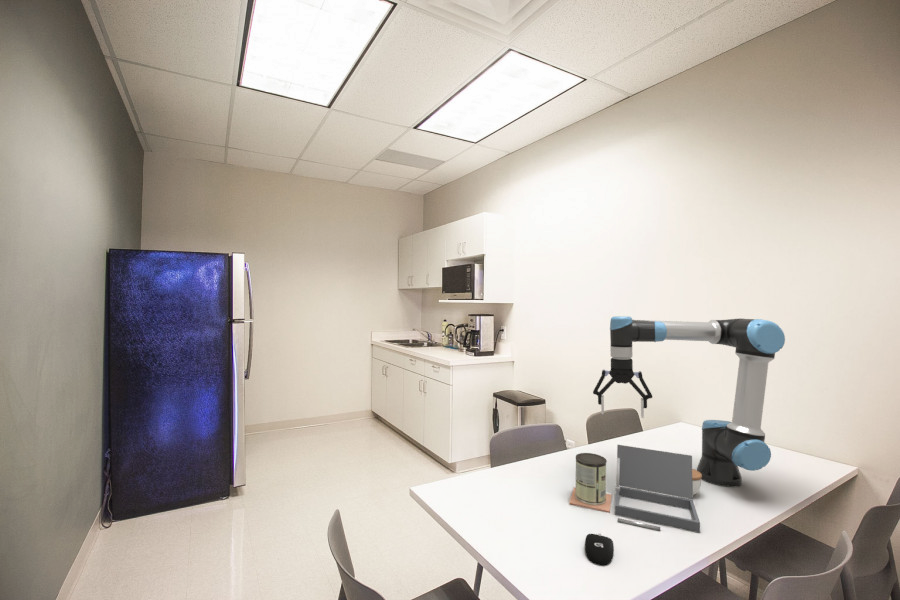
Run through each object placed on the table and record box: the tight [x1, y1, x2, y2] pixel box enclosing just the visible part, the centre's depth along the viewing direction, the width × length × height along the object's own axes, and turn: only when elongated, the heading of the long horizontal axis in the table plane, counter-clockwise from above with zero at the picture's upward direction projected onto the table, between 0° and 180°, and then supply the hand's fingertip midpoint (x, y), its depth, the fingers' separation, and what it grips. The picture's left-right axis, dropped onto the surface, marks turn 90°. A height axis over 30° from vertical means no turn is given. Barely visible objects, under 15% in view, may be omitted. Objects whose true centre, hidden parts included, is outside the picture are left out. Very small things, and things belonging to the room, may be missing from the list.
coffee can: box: [575, 452, 608, 505], centre depth 143 cm, size 10×10×14 cm
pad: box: [568, 486, 612, 514], centre depth 143 cm, size 13×13×1 cm
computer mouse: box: [584, 533, 615, 567], centre depth 113 cm, size 8×12×4 cm, turn 158°
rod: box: [617, 517, 661, 532], centre depth 127 cm, size 12×1×1 cm, turn 66°
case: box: [614, 444, 701, 534], centre depth 138 cm, size 24×20×17 cm
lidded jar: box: [692, 468, 702, 496], centre depth 151 cm, size 11×11×9 cm
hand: (622, 415), depth 151 cm, fingers open, 13 cm apart
